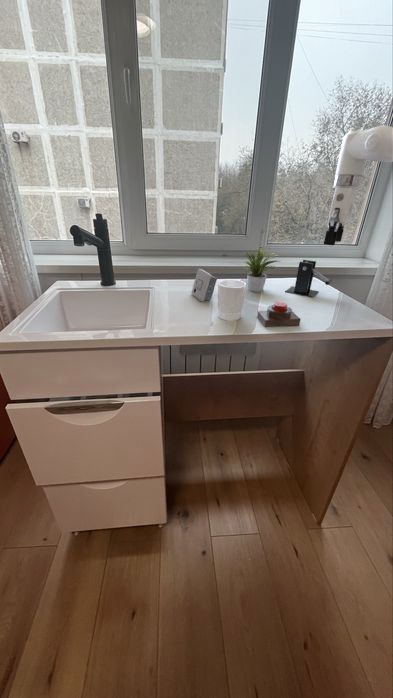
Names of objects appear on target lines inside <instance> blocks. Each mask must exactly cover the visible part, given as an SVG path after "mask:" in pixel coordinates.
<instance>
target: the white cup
mask: <svg viewBox="0 0 393 698" xmlns="http://www.w3.org/2000/svg"><path fill="white" fill-rule="evenodd" d="M246 289H247V283H246V282H244V281H242V280H238V279H223V280H220V281H218V282H217V310H218V311H217V316H218V318H219V319H220V320H224V321H226V322H227V321H229V322H233V321H234V322H235V321H238V320H240V319H241V318H242V312H243V309H244V308H243V307H244V302H245V295H246Z"/></svg>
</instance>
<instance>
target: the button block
mask: <svg viewBox="0 0 393 698" xmlns="http://www.w3.org/2000/svg"><path fill="white" fill-rule="evenodd" d="M273 306H274V304H270V305H269V306H267V309H266V310H258V311H257V315H256V318H257V319H258V321H259V322H260V323H261V325H262V326H263V327H264V328H281V327H282V328H284V327H287V328H288V327H300V324H301V317H299V316H298V315H297V314H296V313H294V312H293V309H292V308H291V307H289V306H287V309H286V311H283V312H280V311H275V310H273Z"/></svg>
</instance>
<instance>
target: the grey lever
mask: <svg viewBox="0 0 393 698" xmlns="http://www.w3.org/2000/svg"><path fill="white" fill-rule="evenodd" d="M306 262H307V261H306ZM308 263H309V262H308ZM312 273H313V275H314V276H316V277H318V278H319V279H321V280H322V281H323V282H324V284H325V285H326V286H328V285H330V283H332V282H333V279H332V278H328V277H326V276H325V275H323V274H322V273H321V272H319V271H317V270H316V269H315V270H314V269H313V268H312Z"/></svg>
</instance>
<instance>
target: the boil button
mask: <svg viewBox="0 0 393 698" xmlns="http://www.w3.org/2000/svg"><path fill="white" fill-rule="evenodd" d="M273 305H274V306H273V310H275V311H280V312H283V311H286V309H287V307H288V304H287V303H285V302H283V301H275V302H274V303H273Z"/></svg>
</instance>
